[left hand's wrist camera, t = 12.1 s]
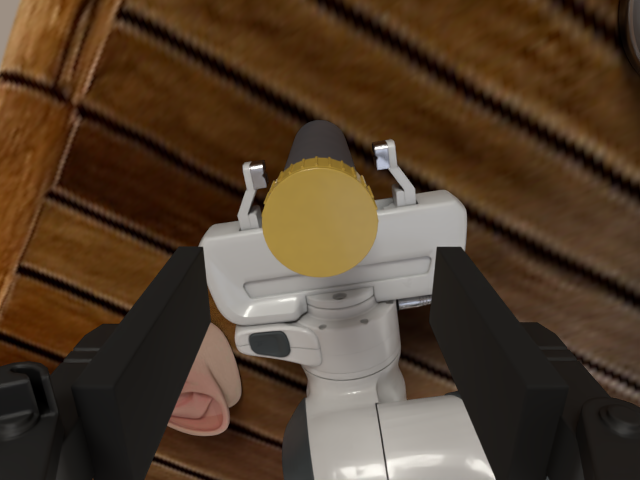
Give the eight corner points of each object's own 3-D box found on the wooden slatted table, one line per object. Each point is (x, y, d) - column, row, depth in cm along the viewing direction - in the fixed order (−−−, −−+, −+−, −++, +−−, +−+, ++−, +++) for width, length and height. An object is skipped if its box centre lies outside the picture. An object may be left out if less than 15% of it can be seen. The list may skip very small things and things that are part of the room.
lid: (250, 174, 21) (242, 186, 19) (358, 141, 21) (362, 150, 19) (285, 270, 23) (282, 291, 21) (385, 242, 23) (392, 261, 20)
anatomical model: (97, 329, 40) (225, 327, 40) (116, 306, 44) (233, 305, 44) (123, 442, 45) (237, 441, 45) (138, 414, 49) (244, 412, 49)
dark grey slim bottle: (286, 129, 38) (255, 189, 20) (338, 113, 37) (355, 159, 19) (302, 179, 39) (288, 278, 21) (352, 164, 39) (381, 252, 21)
